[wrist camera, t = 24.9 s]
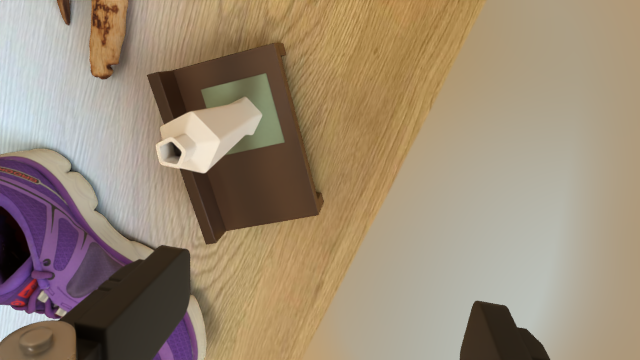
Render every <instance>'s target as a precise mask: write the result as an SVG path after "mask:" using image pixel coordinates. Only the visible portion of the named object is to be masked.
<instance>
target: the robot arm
mask: <svg viewBox="0 0 640 360" xmlns="http://www.w3.org/2000/svg"><path fill="white" fill-rule="evenodd" d="M189 300H190V253H189V251H188V250H187V249H182V248H176V247H170V246H164V245H161V246H159V247H158V248H157V249H156V250H155V251H154V252H152V253H151V254H150V255H149V256H148V257H147V258H146V259H145V260H143V259H138V260H136V261H134V262H132V263H129V264H127V265H125V266H123V267H121V268H120V269H119V270H118V271H116V272H115V273H114V274H113V275H112V276H110V277H109V279H108V280H106V281H104V282H103V283H102V284H101V285H100V286H99V287H98V289H95V290H94V291H93V292H91V293H90V294H89V295H88V296H87V297H86V298H84V299H83V300H82V301H81V302H80V303H78V304H77V305H76V306H75V307H74V308H72V309H71V310H70V311H69V312H68V313H67V314H65V315H64V316H63V317H62V318H61V319H59V320H58V321H54V320H51V321H42V322H37V323H33V324H30V325H27V326H24V327H22V328H20V329H18V330H16V331H14V332H12V333H11V334H9V335H8V336H7V337H5V338H4V339H3V340H2V341H1V342H0V360H152V359H153V358H154V357H155V355H156V354H157V353H158V351H159V350H160V349H161V347H162V346H163V345H164V343H165V342H166V340H167V339H168V338H169V336H170V335H171V334H172V332H173V331H174V330H175V328H176V327H177V326H178V324H179V323H180V321H181V320H182V319H183V317H184V315H185V313H186V311H187V308H188V305H189ZM460 360H550V358H549V356H548V354H547V352H546V351H545V349H544V347H543V345H542V344H541V343H540V342H539V341H538V340H537V339H536V338H535V337H534V336H533V335H532V334H531V333H530V332H529V331H528V330H527V329H524V328H518V327H517V326H516V324H515V322H514V320H513V318H512V316H511V314H510V312H509V309H508V308H507V307H506V306H505V305H499V304H493V303H487V302H482V301H475V302H474V304H473V306H472V309H471V313H470V317H469V321H468V324H467V328H466V332H465V335H464V339H463V342H462V346H461V351H460Z"/></svg>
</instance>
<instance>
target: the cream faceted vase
mask: <svg viewBox="0 0 640 360" xmlns="http://www.w3.org/2000/svg"><path fill="white" fill-rule="evenodd" d="M261 118H262V113H261V112H260V111H259V110H258V109H257V108H256V107H255V106H254V105H253V103H252V102H251V101H250V100H249V99H248V98H247V97H243V98H241V99H239V100H237V101H235V102H233V103H231V104H229V105H224V106H219V107H213V108H208V109H202V110H197V111H191V112H188V113H186V114H184V115H182V116H180V117H178V118H176V119H174V120H172V121H170V122H168V123H166V124H164V125H163V126H161V127H160V132H161V136H162V141H160V142H158V143H157V144H156V150H157V154H158V158H159V162H160V164H161V165H164V166H168V167H173V168H182V169H186V170H191V171H195V172H200V173H206V172H207V171H208V170H209V169H210V168H211V167H212V166H213V165H214V164H215V163H216V162H218V161H219V160H220V159H221V158H222V157H223V156H224V155H225V154H226V153H227V152H228V151H229V150H230V149H231V148H232V147H233V146H234V145H235V144H236V143H237V142H239V141H240V140H241V139H242V138H243V137H244V136H245V135H253V134H254V132H255V130H256V128H257V126H258V124H259V122H260V120H261Z"/></svg>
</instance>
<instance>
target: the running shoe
mask: <svg viewBox="0 0 640 360" xmlns="http://www.w3.org/2000/svg"><path fill="white" fill-rule="evenodd" d="M70 169H71V163H70V162H69V161H68V160H67V159H66V158H64V157H63V156H62V155H60V154H59V153H57V152H55V151H52V150H49V149H32V150H28V151H17V152H10V153H5V154H1V155H0V305H11V307H12V308H13V309H15V310H20V311H22V310H25V312H26V313H28V314H30V313H33V312H36V313H39V314H45V315H46V316H47V317H49V318H53V319H59V318H60V319H61V318H62V317H63V316H64V315H65V314H67V313H68V312H69V311H70V310H71V309H72V308H74V307H75V306H76V305H77V304H78V303H80V302H81V301H82V300H83V299H84V298H86V297H87V296H88V295H89V294H90V293H91V292H93V291H94V290H95V289H98V287H99V286H100V285H101V284H102V283H103V282H104V281H106V280H108V279H109V277H110V276H112V275H113V274H114V273H115V272H116V271H118V270H119V269H120V268H121V267H123V266H125V265H127V264H129V263H132V262H134V261H136V260H138V259H143V260H145V259H146V258H147V257H148V256H149V255H150V254H151V253H152V252H154V250H152V249H151V248H149V247H147V246H145V245H143V244H141V243H138V242H135V241H129V240H128V239H126V238H125V237H123V236H122V235H121V234H120V233H119V232H117V231H116V230H115V229H114V228H113V227H112V226H111V224H110V223H109V222H108V220H107V219H106V218H105V217H104V216H103V215H102V214H100V213H98V212H97V211H94V209H95V208H96V206H97V205H98V200H97V197H96V195H95V192H94V190H93V188H92V187H91V185H90V184H89V182H88V181H87V180H86V179H85V178H84V177H83V176H82V175H81V174H80V173H77V172H69V171H70ZM206 350H207V340H206V330H205V324H204V319H203V316H202V312H201V309H200V306H199V304H198V302H197V300H196V298H195V297H194V296H193V295H190V300H189V305H188V308H187V311H186V313H185V315H184V317H183V319H182V320H181V321H180V323H179V324H178V326H177V327H176V328H175V330H174V331H173V332H172V334H171V335H170V336H169V338H168V339H167V340H166V342H165V343H164V345H163V346H162V347H161V349H160V350H159V351H158V353H157V354H156V355H155V357H154V358H153V359H152V360H204V359H205V356H206Z"/></svg>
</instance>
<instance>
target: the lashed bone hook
mask: <svg viewBox="0 0 640 360" xmlns="http://www.w3.org/2000/svg"><path fill="white" fill-rule="evenodd" d="M57 3H58V6H59V9H60V12H61V15H62V17H63V19H64V21H65V23H66V24H67V25H69V23H70V3H69V0H57ZM127 8H128V0H92V13H91V35H90V43H89V47H90V64H91V73H92V75H93V76H95V77H99V78H101V79H107V78H109V77H110V76H111V75H112V74H113V69H112V68H111V65H117V64H118V63H119V57H120V53H121V46H122V43H123V40H124V37H125V34H126V33H125V32H126V23H125V22H126V12H127Z"/></svg>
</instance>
